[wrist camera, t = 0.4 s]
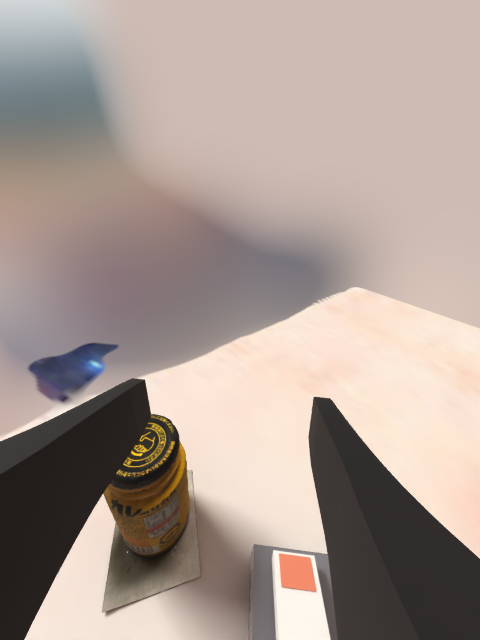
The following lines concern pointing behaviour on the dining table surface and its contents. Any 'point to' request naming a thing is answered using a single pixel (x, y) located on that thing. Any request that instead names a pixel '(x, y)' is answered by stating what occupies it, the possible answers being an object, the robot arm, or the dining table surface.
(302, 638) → the rocker near arm
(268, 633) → the rocker switch panel
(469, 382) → the dining table surface
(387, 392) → the dining table surface
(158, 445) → the condiment
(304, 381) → the dining table surface
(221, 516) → the dining table surface
